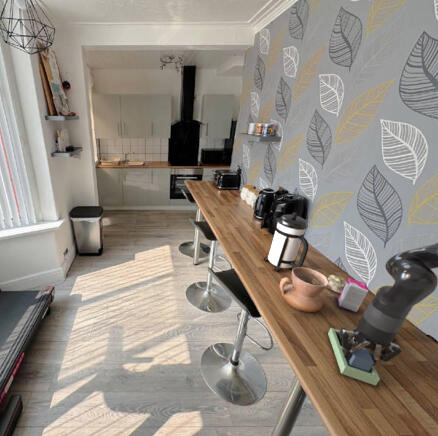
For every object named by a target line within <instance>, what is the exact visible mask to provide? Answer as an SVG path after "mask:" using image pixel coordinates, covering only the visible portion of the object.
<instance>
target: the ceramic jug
mask: <svg viewBox="0 0 438 436" xmlns="http://www.w3.org/2000/svg"><path fill="white" fill-rule="evenodd" d="M327 278H328V277H326V276H325V275H323V273H321V272H319V271H317V270H314V269H312V268H309V267H303V266H301V267H297V268H294V267H293V270H292V269H291V277H283V278H281V280H280V282H279V289H280V291H281V295H280V296H282V298H283V300H284V301H285V302H286V303H287V304H288V305H289V306H291V307H292V308H294V309H295V310H298V311H301V312H304V313H309V314H311V313H317V312H320V310H321V309H322V307H323V306H324V299H323V298H322V297H321V296H320V294H321V293H322V292H324V290H326V289H328V290H330V291H332V290H331V289H332V287H331V286H330V285H328V280H327ZM314 279H316V280H317V281H318V282H319V283H314V281H313V280H314ZM286 283H289V284H286ZM285 284H286V285H285Z"/></svg>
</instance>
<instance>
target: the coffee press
mask: <svg viewBox="0 0 438 436" xmlns="http://www.w3.org/2000/svg"><path fill="white" fill-rule="evenodd" d="M308 227H309V225H308V222H307V220H305V219H304V218H303V217H301V216H299V214H298V213H297V212H296V211H295V212H293V213H292V214H283V215H280V216H279V217H278V219H277V224H276V226H275V229H274V233H273V235H272V236H273V237H272V240H271V243H270V247H269V250H268V252H267V253H268V254H267V256H265V257H264V258H263V260H264V261H266V262H268V261H269V263H270V264H272V265H273V266H275V267H276V268H275V271H276V272H279V271H280V268H281V269H291V271H292V270H293V269H294V268H297V267H303V265H304V263H305V261H306V258H307V255H308V251H309V242H308V240H307V239H306V238H305V234H306V230H307V229H308ZM302 245H303V248H302V252H301V254H300V257H299V260H298V263H297V264H296V263H295V262H296V260H297V258H298V255H299V251H300V249H301V247H302Z"/></svg>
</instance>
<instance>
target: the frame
mask: <svg viewBox="0 0 438 436" xmlns="http://www.w3.org/2000/svg"><path fill="white" fill-rule="evenodd" d="M340 331H341V329H337V328H334V327H330V329H329V330H328V333H327V335H328V338H329V341H330V344H331V346H332V349H333V352H334V356H335V359H336V362H337V364H338V367H339V371H340V374H341V375H344V376H347V377H349V378H352V379H355V380H358V381H361V382H363V383H367V384H370V385H373V386H377V385H378V383H379V381H380V380H381V378H380V376H379V374H378V371H377V370H376V367H375V365H374V366H373V367H371V369H370V370H369V372H367V371H364V370H361V369H358V368H355V367H352V366H350V364H349V362H348V360H346V358H345V357H344V354H343V352H344V350H345V349H344V348H343V346H340V343H339V340H338V338H337V336H338V334H339V332H340ZM363 349H366V350H367V348H363Z"/></svg>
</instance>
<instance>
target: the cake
mask: <svg viewBox="0 0 438 436" xmlns="http://www.w3.org/2000/svg"><path fill="white" fill-rule="evenodd" d="M326 278H327V280H328V285H330V286H331V287H332V289H331V290H330V291H333V292H334V293H338V294H341V293H342V291H343V289H344V287H345V285H346V283H347V281H348V280H347V279H344V278H343V277H341V276H338V275H335V274H330V275H329V276H328V277H326Z"/></svg>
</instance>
